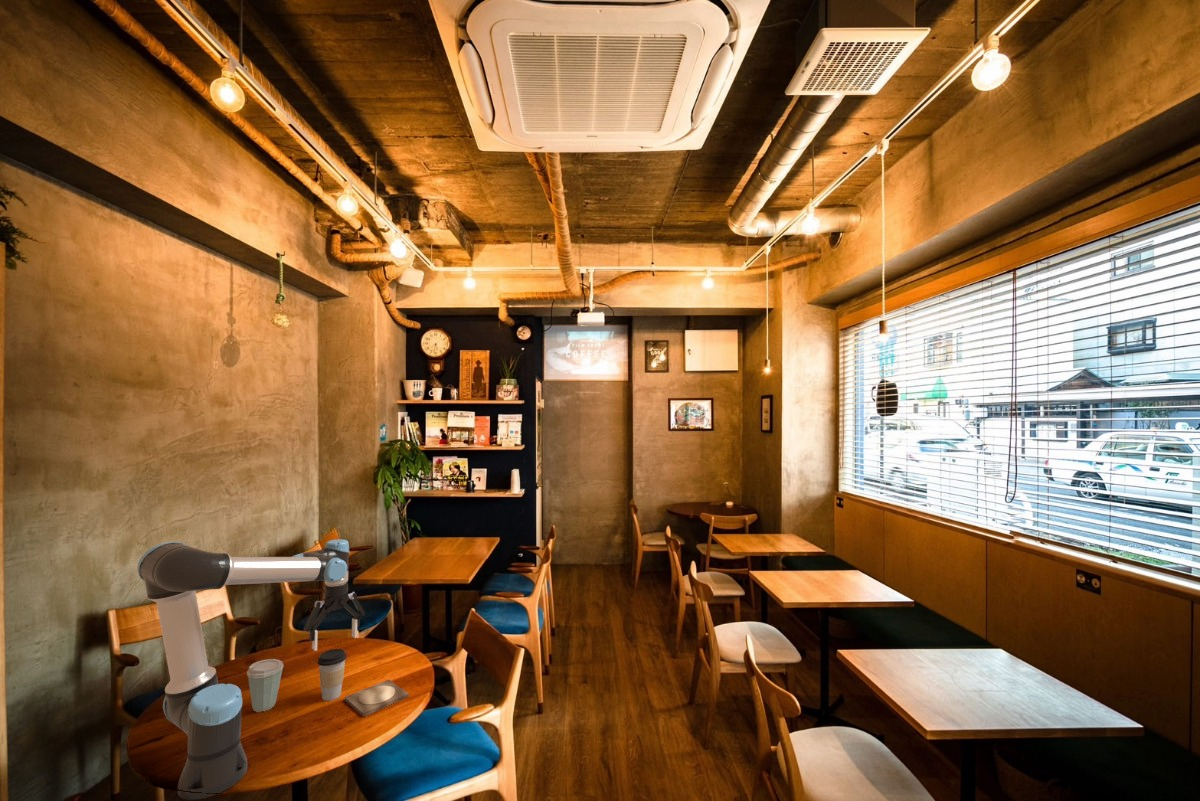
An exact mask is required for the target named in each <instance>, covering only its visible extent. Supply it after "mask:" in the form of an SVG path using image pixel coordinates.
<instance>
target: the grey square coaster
mask: <svg viewBox="0 0 1200 801" xmlns="http://www.w3.org/2000/svg"><path fill="white" fill-rule="evenodd" d="M409 696H410V695H409V692H407V691H406V690H404V689H403V688H402V687H400V686H398V685H397V684H396V683H394V681H392V680H390V679H387V680H384V681H382V682H379V683H377V684H375V685H372V686H369V687H367V688H364V689H362V690H359V691H356V692H355V693H352V694H350V695H346V696H344V702H346V703H347V704H348V705H349V706H350V707H351V708H353V710H355V712H357V713H358V714H359V715H360V716H361V717H362V718H364V716H365V717H367V716H369V715H372V714H374V713H375V712H376V713H377V712H378V711H380V710H382V708H383V709H384V707H385V708H387V707H389V705H390V706H392V705H394V704H396V703H398V701H399V702H401V701H403V700H405V699H407V698H406V697H408V698H409ZM404 698H405V699H404ZM400 700H401V701H400ZM395 702H396V703H395ZM393 703H394V704H393ZM391 704H392V705H391ZM386 706H387V707H386Z"/></svg>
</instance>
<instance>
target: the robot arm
mask: <svg viewBox="0 0 1200 801" xmlns="http://www.w3.org/2000/svg"><path fill="white" fill-rule="evenodd" d="M349 556H350V545H349V541H348V540H347V539H344V538H343V539H331V540H328V541H326V542H325V548H320V549H316V550H312V551H306V552H301V553H298V554H295V555H292V556H231V555H230V554H229V553H226V552H225V553H224V552H222V553H221V552H220V553H219V552H212V551H211V552H210V551H206V550H202V549H199V548H195V547H192V546H189V545H187V544H185V543H184V542H179V541H178V542H177V541H165V542H161V543H159V544H156V545H154V546H152V547H151V548H149V549H148V550H147V551H146V552H144V553H143V555H142V556H141V557H140V559H139V561H138V563H137V573H138V576H139V578H140V579H141V580H143V581H144V585H145V590H146V594H147V599H148V600H149V601H152V602H153V603H156V607H157V613H158V618H159V623H160V628H161V629H160V630H161V636H162V641H163V645H164V646H163V648H164V652H165V657H166V664H167V667H168V673H169V680H170V681H169V682H168V683H167V684H166V686H165V688H164V693H165V696H164V699H163V702H162V703H163V704H162V709H163V713H164V716H165V717H166V719H167V720H168V721H169V722H170V723H172V724H173V725H175V726H176V727H178V728H179V729H180V730H181V731H182V732H184V733H185V734H186V735H187V759H186V762H185V764H184V767H183V770H182V772H181V773H180V774H181V775H180V777H179V780H178V784H177V795H178V797H179V798H181V799H183V800H187V801H193V800H194V801H195V800H201V799H207V798H210V797H213V796H215V795H217V794H206V793H218V794H220V793H222V792H224V791H226V790H229V789H230V788H231V787H233V786H234V785H236V784H237V783H239V781H240V780H242V779H243V778H244V776H245V775H246V773H247V771H248V757H247V756H246V753H245V750H244V747H243V745H242V742H241V738H242V737H241V733H242V731H241V730H242V710H243V697H242V689H241V688H239V686H237V685H236V684H232V683H227V684H225V683H219V681H218V674H217V669H216V668H215V667H214V666H209V663H208V656H207V650H206V645H205V640H204V632H203V628H202V623H201V621H202V620H201V615H200V610H199V604H198V598H197V593H196V591H208V590H221V589H222V588H224V587H225V586H229V585H252V584H254V585H255V584H272V583H273V584H274V583H276V584H277V583H293V582H296V583H297V582H300V583H301V582H321V581H322V582H324V585H325V586H324V599H323V600H315V601H314V602H313V608H312V611H311V613H310V614H309V617H308V618H307V620H306V623H304V624H305V625H304V627H303V630H304V631H305V632H306V633H309V634H308V635H309V638H308V639H309V641H310V642H311V649H312V650H313V651H316V652H317V651H318V634H319V632H318V630H317V629H318V627H319V626H320V625H321V624H322V622H323V621H324V620H325V618H326V617H327V615H329V614H330V612H335V611H337V610H342V609H343V608H344V609H345V610H346V611H347V612H348V613H350V615H352V616H353V617H352V619H351V637H353V638H354V639H356V638H358V628H360V624H361V622H360V620H361V619H362V617H364V616H366V612H365V610H364V608H363V606H362V605H361V602H360V600H359V599H358V595H357V594H358V593H356V592H355V591H351V592H350V593H349V582H348V581H349V564H350V563H349V561H350V559H349V558H350V557H349ZM349 599H350V600H351V601H352V603H353V605H354V606H355V609H356V610H357V611H355V610H354V609H353V607H351V606H350V604H348V600H349ZM322 606H324V607H323V608H322ZM321 608H322V610H321V612H320V609H321ZM357 612H358V613H357ZM318 614H319V615H318ZM178 789H179V790H183V791H191V792H202V793H190V792H183V791H178Z"/></svg>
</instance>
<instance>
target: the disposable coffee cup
mask: <svg viewBox="0 0 1200 801" xmlns="http://www.w3.org/2000/svg"><path fill="white" fill-rule="evenodd" d="M283 668H284V663H283V661H282V660H280V659H276V658H269V659H263V660H258V661H256V662H253V663H252V664H251V665H250V666H249V667H248V670H246V675H247V676H246V677H247V678H248V685H249V693H250V694H249V695H250V700H251V707H252V710H253V712H254V711H256V713H262V712H261V711H264V712H267V711H269V710H271V709H273V708H274V706H275V705H276V703H277V700H278V693H279V689H280V684H281V679H282V674H283ZM272 707H273V708H272ZM266 710H267V711H266Z"/></svg>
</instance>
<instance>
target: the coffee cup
mask: <svg viewBox="0 0 1200 801" xmlns="http://www.w3.org/2000/svg"><path fill="white" fill-rule="evenodd" d="M347 658H348V654H347V652H345V650H344V649H342V648H333V649H330V650H329V649H328V650H327V651H324V652H322V653H321V654H320V655H319V658H318V659H317V665H318V666H319V670H318V673H319V681H320V683H319V684H320V689H321V690H320V691H321V699H322V700H323V701H326V702H331V701H334V700H336V699H338V698H340V696H341V695H342V688H343V682H344V675H345V668H346V659H347Z"/></svg>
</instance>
